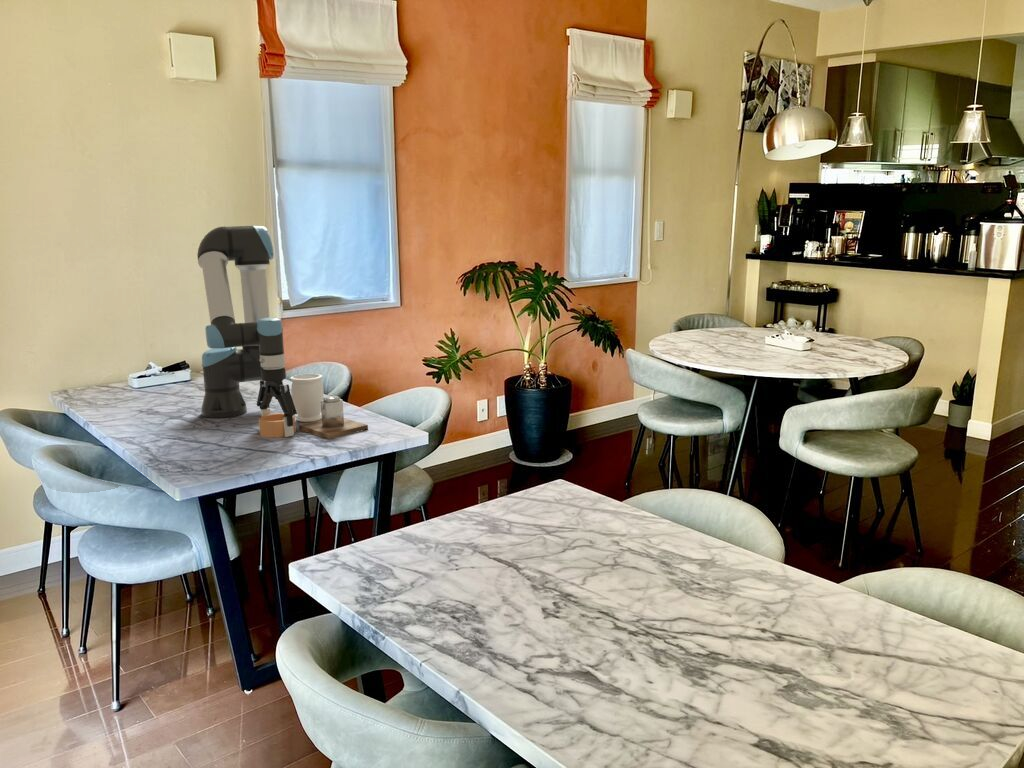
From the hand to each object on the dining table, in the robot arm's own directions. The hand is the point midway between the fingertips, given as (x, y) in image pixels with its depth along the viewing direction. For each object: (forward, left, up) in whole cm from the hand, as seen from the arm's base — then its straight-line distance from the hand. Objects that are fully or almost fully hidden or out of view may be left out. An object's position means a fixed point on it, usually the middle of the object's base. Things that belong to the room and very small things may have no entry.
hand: (278, 432), depth 264 cm
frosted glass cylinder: (+10, +14, +1) cm, 18 cm away
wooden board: (+10, +14, 0) cm, 17 cm away
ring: (0, 0, 0) cm, 0 cm away
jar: (-7, +16, 0) cm, 18 cm away
